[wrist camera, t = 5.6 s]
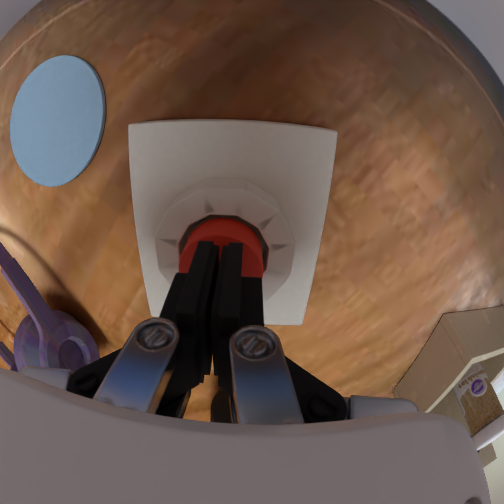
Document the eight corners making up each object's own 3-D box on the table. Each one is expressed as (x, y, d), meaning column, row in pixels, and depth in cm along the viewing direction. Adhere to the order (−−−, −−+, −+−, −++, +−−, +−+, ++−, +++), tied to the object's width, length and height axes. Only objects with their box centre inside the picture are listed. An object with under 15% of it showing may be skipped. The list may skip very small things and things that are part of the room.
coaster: (14, 76, 10) (10, 77, 9) (110, 40, 10) (107, 39, 10) (19, 189, 14) (16, 191, 14) (109, 181, 14) (106, 183, 14)
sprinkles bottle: (464, 331, 22) (514, 423, 10) (467, 347, 24) (509, 428, 12) (433, 355, 24) (475, 451, 12) (439, 368, 25) (476, 452, 14)
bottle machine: (443, 313, 20) (515, 450, 6) (503, 305, 21) (564, 400, 7) (392, 390, 27) (424, 500, 13) (455, 375, 27) (491, 461, 13)
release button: (184, 215, 12) (175, 232, 10) (265, 219, 12) (267, 237, 10) (188, 281, 14) (181, 303, 12) (258, 285, 14) (259, 308, 12)
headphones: (132, 339, 20) (-1, 181, 16) (85, 412, 13) (-65, 207, 8) (76, 390, 26) (-17, 284, 22) (49, 433, 19) (-54, 313, 14)
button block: (143, 121, 13) (110, 127, 9) (326, 128, 13) (351, 135, 10) (159, 296, 19) (143, 335, 15) (297, 304, 19) (306, 346, 16)
